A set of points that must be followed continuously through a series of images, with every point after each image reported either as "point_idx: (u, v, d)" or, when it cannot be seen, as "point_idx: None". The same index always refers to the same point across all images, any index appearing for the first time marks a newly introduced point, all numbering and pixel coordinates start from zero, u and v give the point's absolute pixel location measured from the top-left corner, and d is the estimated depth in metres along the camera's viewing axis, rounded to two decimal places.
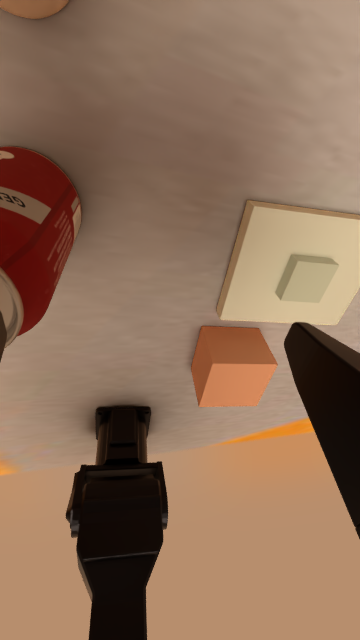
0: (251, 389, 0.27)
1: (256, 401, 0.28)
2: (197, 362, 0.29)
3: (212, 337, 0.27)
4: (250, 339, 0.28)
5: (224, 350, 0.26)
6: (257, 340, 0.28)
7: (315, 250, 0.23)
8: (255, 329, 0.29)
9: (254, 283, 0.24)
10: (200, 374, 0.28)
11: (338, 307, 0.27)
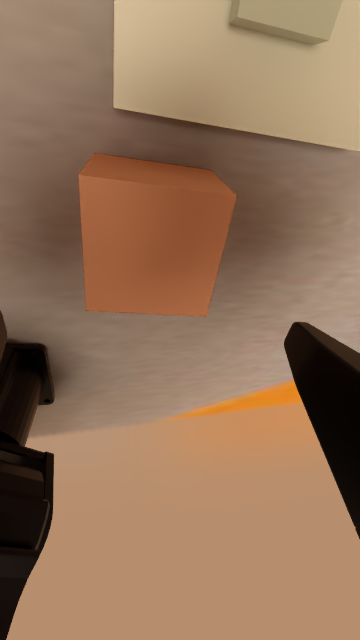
0: (189, 271, 0.13)
1: (204, 305, 0.14)
2: None
3: (106, 161, 0.13)
4: (188, 173, 0.14)
5: (120, 171, 0.12)
6: (202, 175, 0.14)
7: None
8: (205, 171, 0.15)
9: None
10: None
11: None
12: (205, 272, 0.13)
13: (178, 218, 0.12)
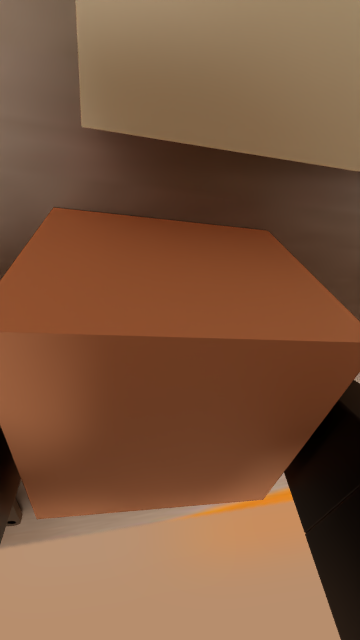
0: (244, 456, 0.06)
1: (262, 489, 0.08)
2: None
3: (72, 234, 0.06)
4: (237, 251, 0.07)
5: (96, 275, 0.05)
6: (265, 255, 0.07)
7: None
8: (258, 232, 0.09)
9: None
10: None
11: None
12: (274, 455, 0.07)
13: (234, 389, 0.05)
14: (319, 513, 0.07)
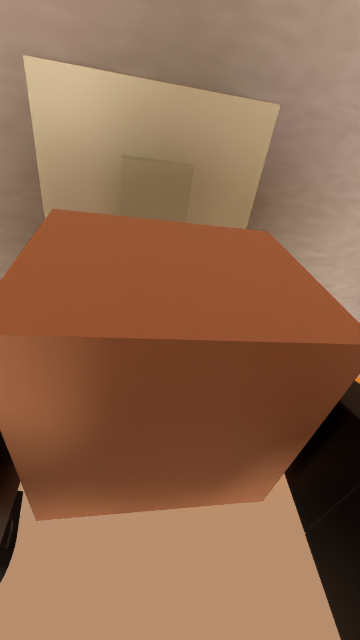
0: (243, 458, 0.06)
1: (262, 490, 0.08)
2: None
3: (71, 235, 0.06)
4: (237, 252, 0.07)
5: (95, 277, 0.05)
6: (265, 256, 0.07)
7: (159, 149, 0.15)
8: (257, 234, 0.09)
9: (81, 207, 0.16)
10: None
11: None
12: (274, 456, 0.07)
13: (234, 391, 0.05)
14: (319, 514, 0.07)
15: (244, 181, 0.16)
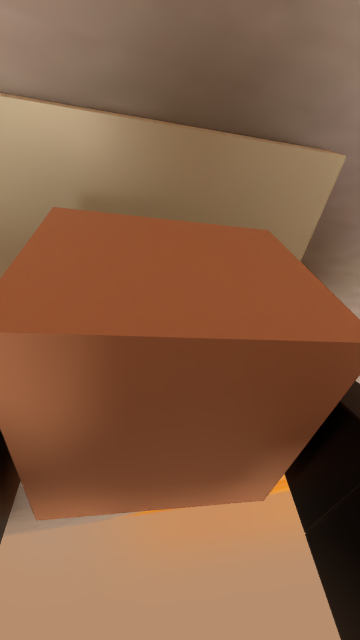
0: (245, 457, 0.06)
1: (263, 490, 0.08)
2: None
3: (71, 233, 0.06)
4: (238, 251, 0.07)
5: (96, 275, 0.05)
6: (266, 255, 0.07)
7: (164, 217, 0.10)
8: (258, 232, 0.09)
9: None
10: None
11: None
12: (275, 456, 0.07)
13: (235, 390, 0.05)
14: (320, 513, 0.07)
15: None
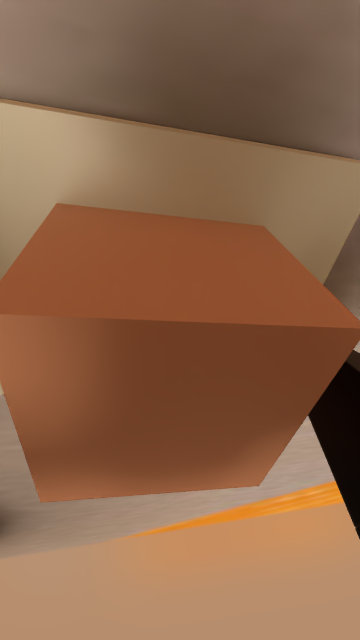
0: (239, 441, 0.07)
1: (258, 474, 0.08)
2: None
3: (75, 227, 0.07)
4: (233, 244, 0.07)
5: (99, 265, 0.05)
6: (260, 249, 0.07)
7: None
8: (254, 228, 0.09)
9: None
10: None
11: None
12: (269, 440, 0.07)
13: (229, 373, 0.05)
14: None
15: None
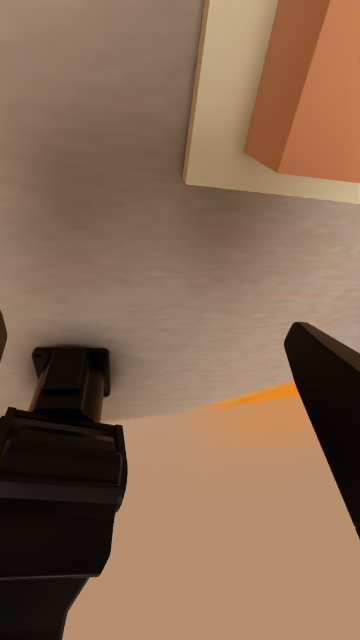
0: None
1: None
2: (266, 98, 0.13)
3: None
4: None
5: None
6: None
7: None
8: None
9: (235, 105, 0.15)
10: (282, 95, 0.12)
11: None
12: None
13: None
14: None
15: None
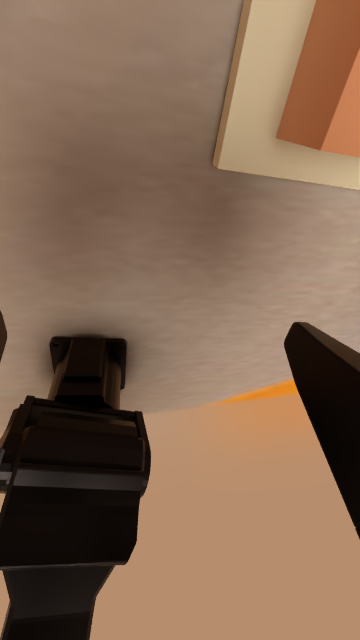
0: None
1: None
2: (305, 81, 0.14)
3: None
4: None
5: None
6: None
7: None
8: None
9: (271, 91, 0.15)
10: (325, 75, 0.12)
11: None
12: None
13: None
14: None
15: None
